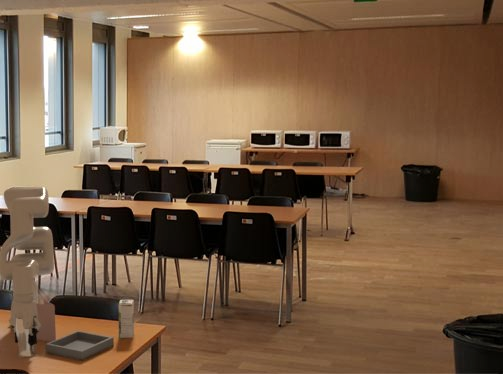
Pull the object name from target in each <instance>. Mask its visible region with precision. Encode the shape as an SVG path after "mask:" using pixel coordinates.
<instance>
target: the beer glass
mask: <svg viewBox="0 0 503 374" xmlns="http://www.w3.org/2000/svg"><path fill="white" fill-rule="evenodd" d="M32 326H34V323H33V325H32ZM33 330H34V328H32V331H33ZM16 335H17V339H18V343H17V344H18V353H17V357H19V358H24V359H25V358H31V357H34V356H35V355H36V351H35V348H34V347H35V346H34V345H32V346H30V345H29V336H30V332H29V329H24V327H23V321H22V319H18V318H16Z"/></svg>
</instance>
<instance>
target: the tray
mask: <svg viewBox="0 0 503 374" xmlns="http://www.w3.org/2000/svg"><path fill="white" fill-rule="evenodd" d="M114 340H115V339H114V337H113V336H109V335H103V334H97V333H92V332H88V331H82V330H76V331H74V332H70V333H69V334H66V335H64V336H62V337H60V338H56V340H54V341H48V342H47V343H45V353H46V354H49V355H53V356H54V355H55V356H58V357H59V356H60V357H63V358H69V359H74V360H78V361H84V360H87V359H89V358H91V357H93V356H96V355H98V354H100V353H101V352H104V351H106V350H109V349H110V348H113V347H114V344H115V343H114Z"/></svg>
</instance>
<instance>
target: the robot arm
mask: <svg viewBox="0 0 503 374" xmlns="http://www.w3.org/2000/svg"><path fill="white" fill-rule="evenodd" d="M3 199H4V203H5V205H6V207H7V210H8V211H9V213H10V215H9V216H10V218H9V219H10V235H9V237H8V238H7V239H6V240H5V242H4V243H3V244H2V246H1V248H0V278H1V279H2V280H3V281H12V296H13V299H12V300H11V306H10V318H9V319H8V323H9V324H10V325H11V329H12V332H13V333H14V341H15V342H14V343H16V344H18V339H17V335H16V318H18V319H22V321H23V327H24V329H29V332H30V336H29V345H30V346H32V345H37V344H38V340H37V334H38V332H39V330H40V329H41V327H42V325H41V324H40V322H39V321H38V312H37V306H36V304H39V293H38V285H37V281H35V280H34V279H35V278H36V277H37V276H44V275H45V276H47V275H50V274H53V272H54V269H55V257H54V256H55V255H54V240H53V239H54V237H53V233H52V229H50V228H49V227H48V226H34V219H35V218H36V219H38V218H39V219H40V218H46V217H47V216H48V214H49V209H50V207H49V206H50V203H49V193H48V190H47V188H46V187H45V186H44V187H43V186H26V187H25V186H22V187H20V186H19V187H10V188H7V189H5V191H4V192H3ZM14 248H15V249H16V250H17V251H34V250H35V251H36V250H40V251H42V252H28V253H27V252H25V253H18V254H14V255H13V256H12V257H11V259H10V260H8V259H7V258H8V254H9V252H10V251H11V250H12V249H14ZM33 323H34V326H32V325H33ZM32 328H34V330H33V331H32Z"/></svg>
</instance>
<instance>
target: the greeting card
mask: <svg viewBox="0 0 503 374" xmlns="http://www.w3.org/2000/svg"><path fill="white" fill-rule="evenodd" d="M36 306H37V312H38V321H39V322H40V324H41V325H42V327H41V329H40V330H39V332H38V334H37V341H43V342H45V341H46V342H52V341H54V340H57V338H56V337H57V336H56V312H55V311H56V307H55V304H53V303H51V302H50V301H49V300H46V299H43V303H38V304H36Z"/></svg>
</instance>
